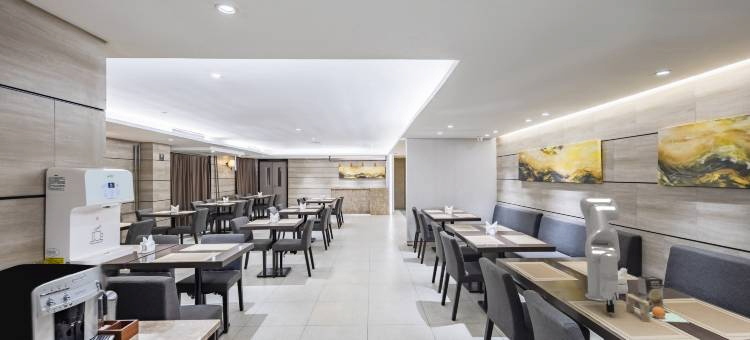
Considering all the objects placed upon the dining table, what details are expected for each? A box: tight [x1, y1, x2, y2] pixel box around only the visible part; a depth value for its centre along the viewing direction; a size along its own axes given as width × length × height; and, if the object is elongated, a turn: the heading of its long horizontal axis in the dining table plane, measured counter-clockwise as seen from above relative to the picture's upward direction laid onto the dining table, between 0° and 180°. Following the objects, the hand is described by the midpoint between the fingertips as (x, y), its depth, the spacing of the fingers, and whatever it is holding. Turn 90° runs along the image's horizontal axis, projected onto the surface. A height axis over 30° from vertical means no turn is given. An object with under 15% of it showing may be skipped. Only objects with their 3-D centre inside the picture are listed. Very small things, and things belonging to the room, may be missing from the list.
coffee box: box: [637, 276, 664, 310], centre depth 193 cm, size 9×6×16 cm
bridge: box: [625, 293, 651, 323], centre depth 180 cm, size 3×14×9 cm, turn 172°
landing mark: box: [649, 311, 690, 323], centre depth 178 cm, size 12×12×1 cm
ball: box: [651, 307, 667, 319], centre depth 177 cm, size 6×6×6 cm
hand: (610, 312), depth 182 cm, fingers closed
